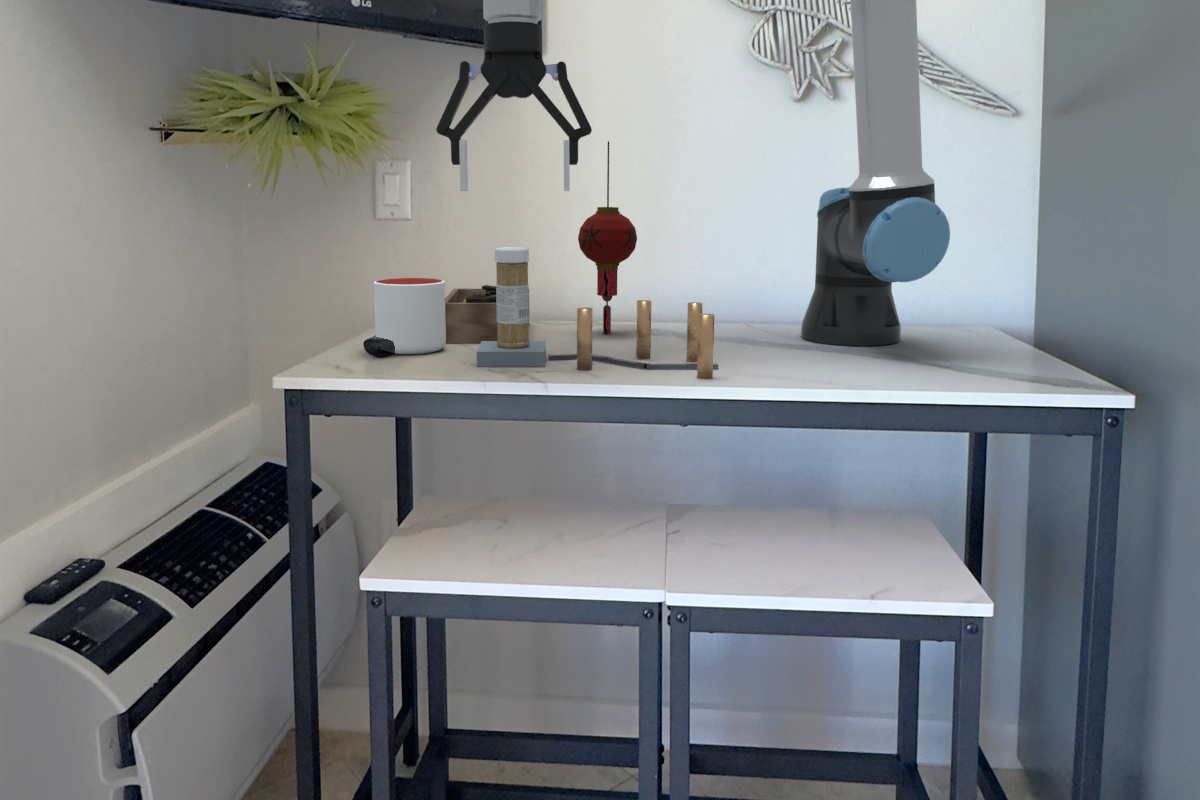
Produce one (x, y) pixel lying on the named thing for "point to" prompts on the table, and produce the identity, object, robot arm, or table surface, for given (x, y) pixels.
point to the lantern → (607, 248)
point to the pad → (511, 354)
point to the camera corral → (469, 319)
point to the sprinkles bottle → (512, 296)
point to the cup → (411, 314)
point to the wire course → (697, 342)
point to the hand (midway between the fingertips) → (515, 191)
